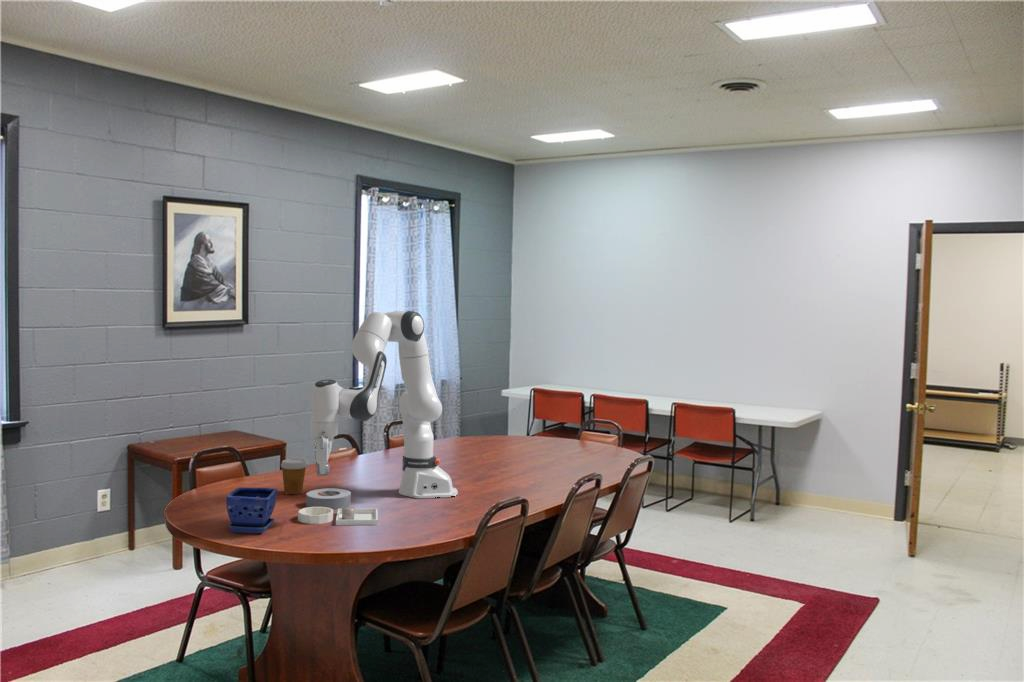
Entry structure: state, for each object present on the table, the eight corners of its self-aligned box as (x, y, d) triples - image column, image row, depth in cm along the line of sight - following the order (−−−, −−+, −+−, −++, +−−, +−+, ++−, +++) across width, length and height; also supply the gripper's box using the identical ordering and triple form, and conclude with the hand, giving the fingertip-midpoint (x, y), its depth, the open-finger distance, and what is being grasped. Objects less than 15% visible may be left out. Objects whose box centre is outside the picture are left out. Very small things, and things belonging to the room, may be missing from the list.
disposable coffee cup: (311, 491, 313) (311, 460, 312) (298, 497, 304) (298, 464, 303) (288, 489, 316) (289, 457, 315) (274, 494, 306) (275, 462, 306)
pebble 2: (354, 517, 277) (354, 506, 276) (354, 520, 273) (354, 510, 272) (342, 517, 276) (342, 506, 276) (341, 520, 272) (341, 510, 272)
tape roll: (306, 513, 283) (307, 498, 283) (305, 502, 298) (305, 488, 297) (352, 512, 287) (353, 497, 287) (348, 501, 302) (349, 487, 302)
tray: (377, 515, 283) (377, 508, 283) (377, 527, 269) (377, 520, 269) (337, 515, 281) (338, 508, 281) (335, 527, 267) (335, 520, 266)
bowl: (333, 517, 279) (334, 506, 279) (331, 526, 268) (332, 515, 268) (299, 517, 277) (300, 506, 277) (296, 526, 266) (297, 515, 266)
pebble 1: (329, 473, 274) (329, 462, 274) (328, 475, 270) (329, 465, 270) (317, 473, 274) (317, 462, 274) (316, 475, 270) (316, 464, 270)
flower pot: (278, 524, 268) (279, 487, 267) (267, 536, 255) (268, 497, 254) (236, 523, 268) (237, 486, 267) (223, 534, 254) (224, 496, 254)
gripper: (332, 435, 262) (331, 478, 262) (335, 425, 282) (334, 465, 283) (311, 435, 261) (310, 478, 261) (316, 424, 281) (315, 465, 282)
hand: (323, 471), depth 272 cm, fingers closed on pebble 1, 4 cm apart
